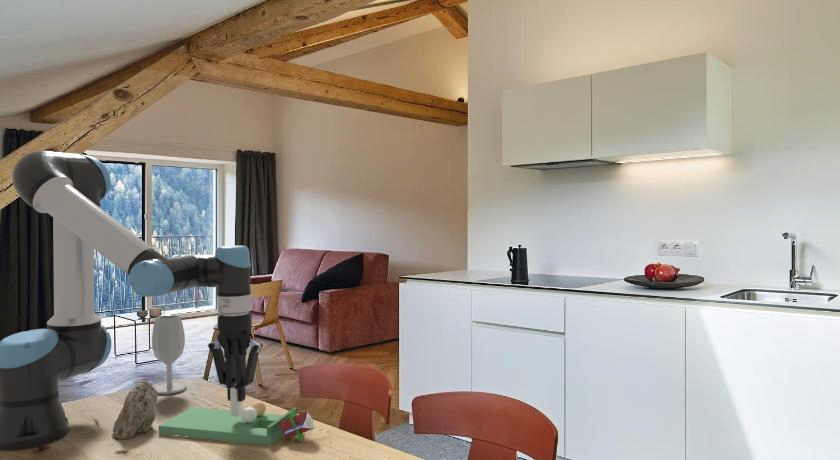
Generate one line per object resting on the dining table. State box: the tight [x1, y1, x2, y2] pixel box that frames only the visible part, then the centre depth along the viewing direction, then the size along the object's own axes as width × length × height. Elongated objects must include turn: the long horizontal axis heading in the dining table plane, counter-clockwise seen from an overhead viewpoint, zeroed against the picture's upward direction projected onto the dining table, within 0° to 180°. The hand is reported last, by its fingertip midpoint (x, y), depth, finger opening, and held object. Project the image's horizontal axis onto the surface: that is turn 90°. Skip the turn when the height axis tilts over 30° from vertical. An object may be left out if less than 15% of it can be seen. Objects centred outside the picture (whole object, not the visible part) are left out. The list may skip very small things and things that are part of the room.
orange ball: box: [250, 400, 267, 417], centre depth 146 cm, size 4×4×4 cm
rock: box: [112, 380, 158, 440], centre depth 143 cm, size 14×10×8 cm
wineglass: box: [151, 314, 188, 395], centre depth 173 cm, size 9×9×21 cm
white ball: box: [241, 406, 257, 423], centre depth 142 cm, size 4×4×4 cm
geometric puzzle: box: [279, 407, 315, 444], centre depth 137 cm, size 7×7×8 cm
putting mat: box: [158, 407, 298, 446], centre depth 143 cm, size 28×13×4 cm, turn 76°
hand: (236, 414), depth 143 cm, fingers closed
